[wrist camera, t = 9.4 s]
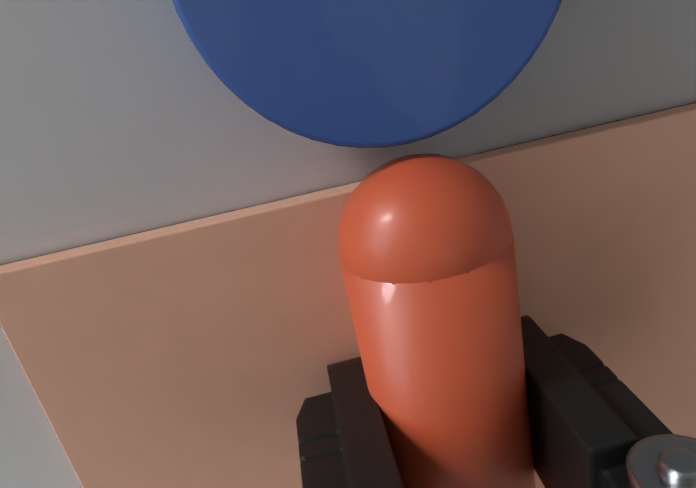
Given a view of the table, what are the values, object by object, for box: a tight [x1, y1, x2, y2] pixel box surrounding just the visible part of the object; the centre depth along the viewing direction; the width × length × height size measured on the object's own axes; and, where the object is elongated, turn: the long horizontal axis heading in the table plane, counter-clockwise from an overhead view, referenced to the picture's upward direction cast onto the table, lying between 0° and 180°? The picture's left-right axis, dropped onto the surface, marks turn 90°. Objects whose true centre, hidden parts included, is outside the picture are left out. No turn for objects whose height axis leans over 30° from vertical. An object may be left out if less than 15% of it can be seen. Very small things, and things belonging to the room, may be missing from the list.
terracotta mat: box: [0, 103, 696, 488], centre depth 12 cm, size 12×14×1 cm
